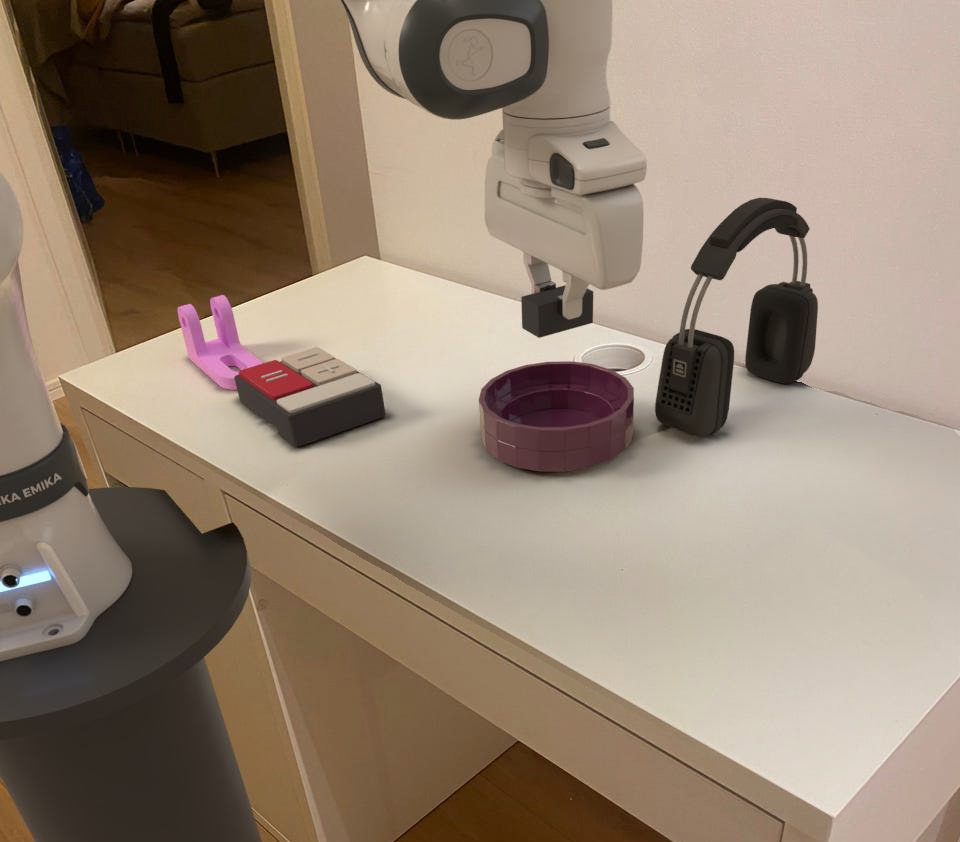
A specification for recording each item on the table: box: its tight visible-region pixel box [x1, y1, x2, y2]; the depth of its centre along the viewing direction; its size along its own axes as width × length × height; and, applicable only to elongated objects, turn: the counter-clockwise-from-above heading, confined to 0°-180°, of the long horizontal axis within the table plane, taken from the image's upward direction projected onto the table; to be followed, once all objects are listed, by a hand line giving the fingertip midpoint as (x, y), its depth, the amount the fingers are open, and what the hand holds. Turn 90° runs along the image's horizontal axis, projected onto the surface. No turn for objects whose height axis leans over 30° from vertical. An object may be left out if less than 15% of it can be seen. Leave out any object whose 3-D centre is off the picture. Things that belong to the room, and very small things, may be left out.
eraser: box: [520, 284, 594, 339], centre depth 92 cm, size 6×3×3 cm, turn 120°
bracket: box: [177, 294, 263, 391], centre depth 117 cm, size 13×6×7 cm, turn 33°
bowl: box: [478, 360, 635, 472], centre depth 99 cm, size 15×15×5 cm
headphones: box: [654, 197, 819, 438], centre depth 99 cm, size 22×6×20 cm, turn 135°
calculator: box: [234, 346, 386, 448], centre depth 109 cm, size 11×4×15 cm
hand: (556, 309), depth 92 cm, fingers closed on eraser, 3 cm apart
